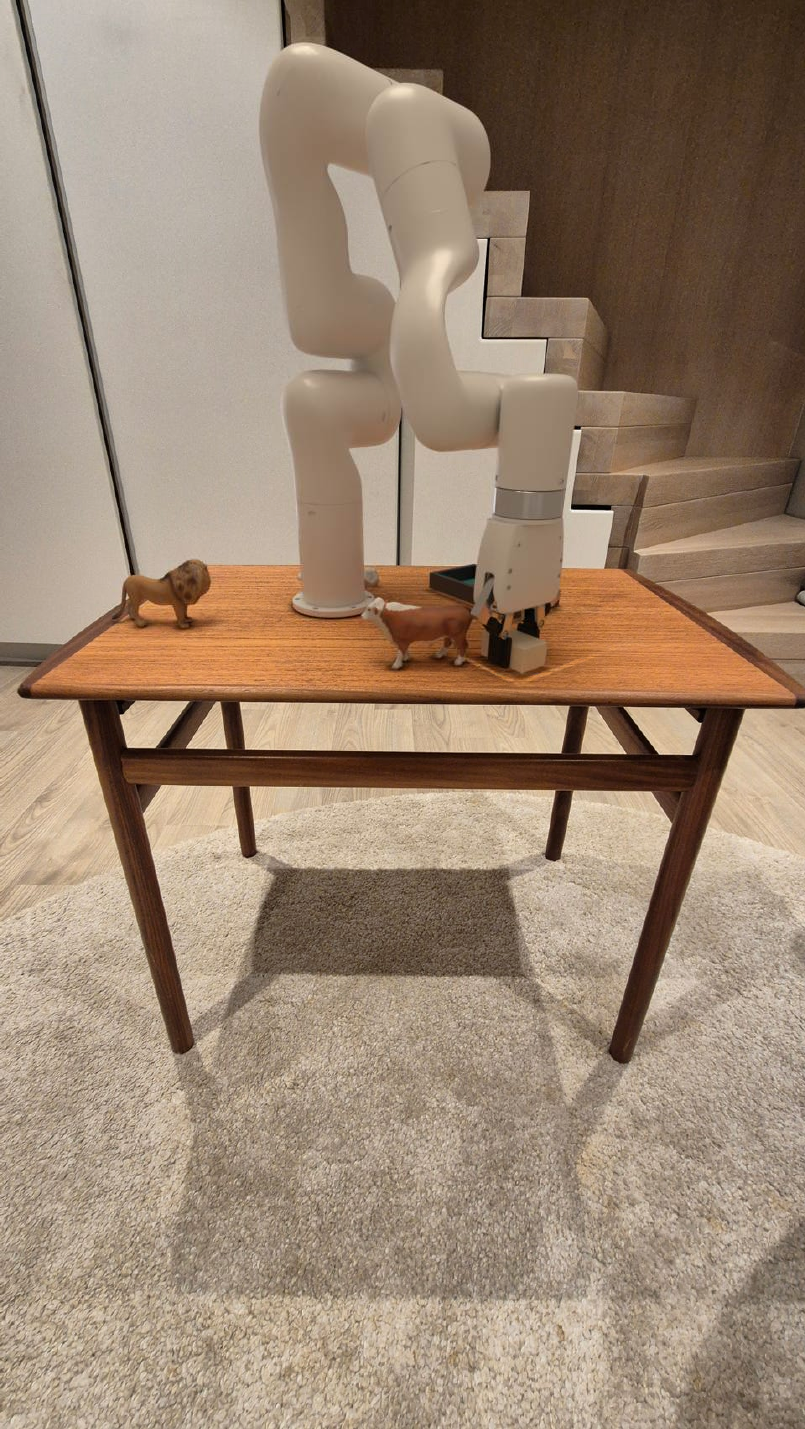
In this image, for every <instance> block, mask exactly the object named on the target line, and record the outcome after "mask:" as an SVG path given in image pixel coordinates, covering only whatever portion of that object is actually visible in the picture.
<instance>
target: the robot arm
mask: <svg viewBox="0 0 805 1429" xmlns="http://www.w3.org/2000/svg"><path fill="white" fill-rule="evenodd" d="M258 115H259V116H258V136H259V137H258V138H259V146H260V147H259V148H260V155H261V161H262V166H263V171H264V175H265V180H266V184H267V189H268V193H269V197H270V202H271V207H272V212H273V217H274V224H275V235H276V246H277V247H276V248H277V259H278V268H279V269H278V270H279V277H280V278H279V280H280V290H281V299H282V309H283V310H282V311H283V319H284V325H285V330H286V335H287V338H288V341H289V342H290V344H291V346H292V347H293V348H294V349H295V350H296V351H297V352H299V353H300V354H303V355H305V356H309V357H314V358H323V359H337V360H346V361H347V370H343V369H322V368H321V369H309V370H305V371H302V372H299V373H297V374H295V375H293V377H292V378H290V380H288V381H287V383H286V384H285V386H284V388H283V390H282V393H281V396H280V415H281V420H282V425H283V429H284V433H285V437H286V441H287V444H288V450H289V455H290V460H291V468H292V475H293V487H294V489H293V490H294V499H295V512H296V525H297V526H296V528H297V540H298V554H299V566H300V569H299V570H300V572H298V573H297V575H296V580H298V581H299V582H300V584H301V592H298V593H296V594H295V595H294V596H293V597H292V608H293V609H294V610H295V611H296V612H298V613H299V614H302V615H306V616H310V617H316V618H326V619H327V618H329V619H330V618H335V619H336V618H346V617H347V618H348V617H353V616H357V615H362V614H363V613H364V612H365V610H366V609H367V606H368V605H369V604H371V603H372V602H373V601H374V600H375V599H376V598H375V596H374V594H373V593H371V592H370V591H368V590H366V589H365V588H364V569H365V552H364V550H365V549H364V510H363V509H364V505H363V503H364V502H363V501H364V500H363V485H362V479H361V475H360V472H359V468H358V467H357V464H356V463H355V460H354V458H353V455H352V453H351V451H350V449H359V448H370V447H377V446H382V445H384V444H386V443H388V442H389V441H390V440H392V439H393V437H394V436H395V434H396V433H397V431H398V430H399V429H398V428H399V426H400V423H401V422H400V421H401V418H402V411H403V414H404V417H405V420H406V423H407V424H408V427H409V428H410V431H411V432H412V434H413V435H414V437H415V438H416V440H417V441H418V442H419V443H420V444H421V445H422V446H424V447H425V448H427V449H428V450H431V451H434V452H437V453H438V452H439V453H448V452H449V453H452V452H460V451H475V450H476V451H477V450H487V449H488V450H489V449H497V451H496V464H495V475H494V476H495V477H494V488H493V498H492V499H493V501H492V515H491V517H490V518H486V521H485V525H484V528H483V531H482V535H481V540H480V543H479V548H478V549H479V550H478V555H477V559H476V560H477V561H476V564H477V567H476V575H475V584H474V603H475V604H473V607H472V608H471V609H472V611H471V613H470V615H471V617H472V618H473V620H475V621H477V622H478V623H480V625H482V626H483V628H484V629H485V631H486V632H487V633H489V644H488V656H487V657H486V658H487V659H486V660H487V662H490V663H492V664H494V665H496V666H498V667H501V668H503V669H505V670H507V669H510V667H509V665H510V655H511V645H512V638H510V637H508V636H509V632H510V628H512V623H513V620H514V619H513V615H514V612H517V611H521V617H520V619H521V622H517V626H516V630H518V631H520V632H523V633H525V634H528V635H530V636H533V637H535V638H538V639H540V635H541V629H543V628H544V627H545V624H546V617H547V616H548V614H549V613H550V612H551V610H552V608H551V607H552V606H553V605H554V604H555V603H556V602H557V601H558V600H559V599H560V600H561V596H562V591H561V592H560V590H561V589H560V585H561V578H562V573H563V572H562V571H563V561H564V560H563V559H564V542H565V540H564V539H565V532H564V530H565V529H564V528H565V526H564V517H563V514H564V507H565V500H566V493H567V492H566V491H567V484H568V477H569V470H570V469H569V468H570V462H571V456H572V454H571V453H572V448H573V445H572V444H573V439H574V432H575V423H576V416H577V410H578V401H579V385H578V382H577V380H576V379H575V378H574V377H573V376H572V375H569V374H564V373H548V372H547V373H545V372H544V373H543V372H542V373H538V372H537V373H535V372H534V373H519V374H514V375H510V374H504V373H499V372H485V371H475V370H457V369H456V365H455V362H454V358H453V354H452V351H451V347H450V343H449V339H448V333H447V329H446V316H445V314H446V303H447V297H448V295H449V294H451V293H452V292H453V291H455V290H457V289H458V288H460V287H461V286H462V285H463V284H464V283H465V282H467V281H468V280H469V278H471V276H472V275H473V273H474V272H475V271H476V270H477V267H478V264H479V261H480V245H479V241H478V238H477V234H476V230H475V226H474V222H473V218H472V214H471V210H470V209H471V208H473V207H474V206H475V205H476V204H477V203H478V201H479V200H480V198H482V195H483V193H484V191H485V189H486V186H487V185H488V184H487V183H488V180H489V177H490V170H491V147H490V146H491V145H490V141H489V138H488V137H489V136H488V134H487V131H486V130H485V127H484V125H483V124H482V121H481V120H480V119H479V117H478V116H477V115H476V114H475V113H474V112H473V111H472V110H470V109H469V108H467V107H465V106H463V105H462V104H459V103H458V102H456V101H454V100H452V99H449V98H448V97H446V96H444V95H442V94H441V93H438V92H437V91H435V90H433V89H431V88H428V87H427V86H424V85H422V84H418V83H414V82H399V81H397V80H394V79H393V78H391V77H389V76H386V75H385V74H383V73H381V72H379V71H377V70H375V69H373V68H371V67H369V66H367V65H365V64H363V63H361V62H360V61H358V60H356V59H354V58H352V57H350V56H348V55H346V54H344V53H342V52H340V51H338V50H335V49H334V48H331V47H328V46H326V45H322V44H318V43H313V42H302V41H301V42H295V43H291V44H290V45H287V46H285V47H284V48H283V49H281V50H280V52H279V53H277V55H276V56H275V57H274V59H273V61H272V62H271V64H270V67H269V68H268V71H267V74H266V77H265V80H264V84H263V87H262V92H261V97H260V104H259V114H258ZM330 164H331V165H334V166H336V167H339V168H342V169H345V170H347V171H351V172H353V173H356V174H359V175H362V176H365V177H368V178H371V179H372V180H373V184H374V187H375V188H374V189H375V192H376V195H377V198H378V202H379V206H380V210H381V213H382V216H383V221H384V224H385V228H386V232H387V235H388V238H389V243H390V247H391V251H392V254H393V259H394V262H395V265H396V268H397V272H398V277H399V280H400V289H399V293H398V295H397V297H396V300H395V298H394V297H393V294H392V293H391V291H390V290H389V288H388V287H387V286H386V284H384V283H383V282H382V281H380V280H379V279H376V278H374V277H372V276H369V275H365V274H360V273H354V272H353V270H352V268H351V263H350V253H349V234H348V233H349V231H348V224H347V219H346V215H345V211H344V208H343V204H342V202H341V199H340V196H339V193H338V191H337V189H336V187H335V185H334V183H333V181H332V179H331V177H330V175H329V172H328V168H329V165H330ZM560 600H559V601H560ZM531 608H532V609H531ZM499 616H502V618H501V622H500V621H499Z"/></svg>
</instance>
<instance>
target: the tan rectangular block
mask: <svg viewBox="0 0 805 1429" xmlns="http://www.w3.org/2000/svg"><path fill="white" fill-rule="evenodd" d="M508 637H510V638H512V645H511V655H510V665H509V669H512V670H514V671H516V672H519V673H521V674H523V673H527V672H529V671H532V670H534V669H538V668H541V667H543V666H546V660H547V658H546V657H547V650H548V641H545V640H543V639H540V638H539V639H538V638H535V637H533V636H530V635H528V634H525V633H523V632H520V631H518V630H517V629H515V628H512V627H511V628H510V632H509V636H508ZM488 644H489V633H487V632H486V631H482V633H481V645H480V655H481V656H483V657H485V658H487V656H488Z"/></svg>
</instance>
